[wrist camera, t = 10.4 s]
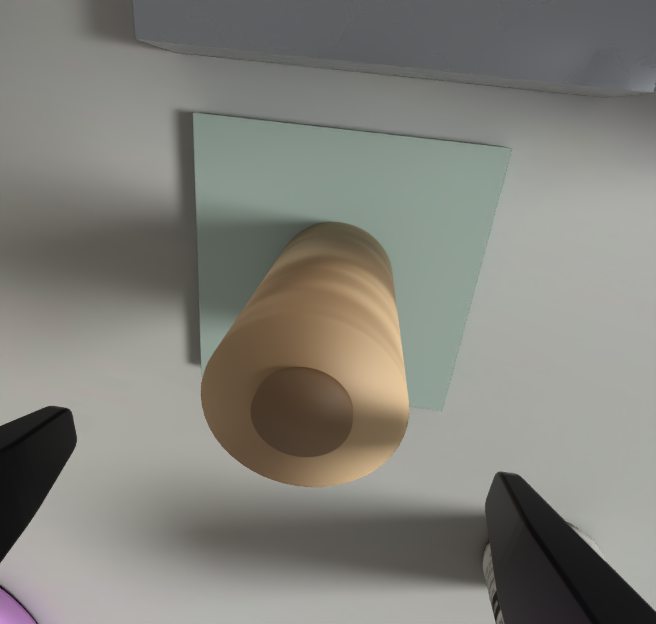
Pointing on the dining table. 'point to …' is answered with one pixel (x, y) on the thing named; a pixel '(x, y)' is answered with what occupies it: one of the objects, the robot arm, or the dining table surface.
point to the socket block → (426, 38)
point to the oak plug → (313, 364)
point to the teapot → (12, 611)
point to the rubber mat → (352, 208)
